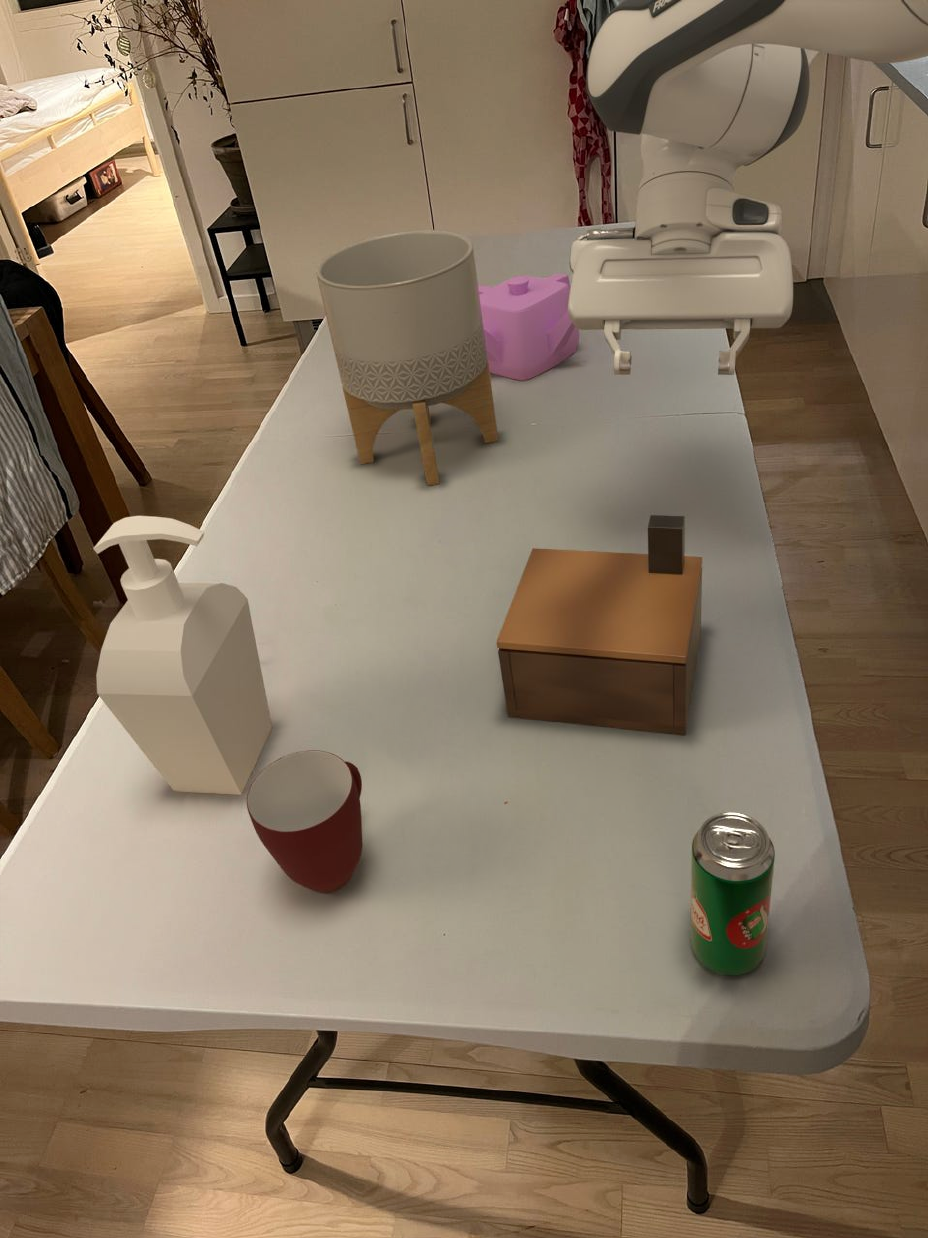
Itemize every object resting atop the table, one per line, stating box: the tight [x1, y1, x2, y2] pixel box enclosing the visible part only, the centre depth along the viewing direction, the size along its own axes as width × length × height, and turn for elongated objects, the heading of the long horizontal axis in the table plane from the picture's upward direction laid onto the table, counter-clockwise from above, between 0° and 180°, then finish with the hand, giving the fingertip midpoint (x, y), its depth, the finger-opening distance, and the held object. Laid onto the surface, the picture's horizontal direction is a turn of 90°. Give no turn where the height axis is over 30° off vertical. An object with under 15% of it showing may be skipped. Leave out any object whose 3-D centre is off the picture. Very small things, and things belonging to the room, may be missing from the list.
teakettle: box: [478, 272, 580, 382], centre depth 145 cm, size 17×17×12 cm
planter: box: [315, 229, 499, 487], centre depth 122 cm, size 19×19×26 cm
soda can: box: [690, 811, 776, 976], centre depth 64 cm, size 5×5×12 cm
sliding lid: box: [496, 514, 703, 664], centre depth 84 cm, size 16×14×6 cm
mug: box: [246, 749, 363, 894], centre depth 75 cm, size 11×8×10 cm
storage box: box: [497, 567, 703, 736], centre depth 89 cm, size 16×14×8 cm
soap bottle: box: [92, 515, 273, 796], centre depth 81 cm, size 12×10×26 cm
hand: (673, 373), depth 89 cm, fingers open, 8 cm apart
